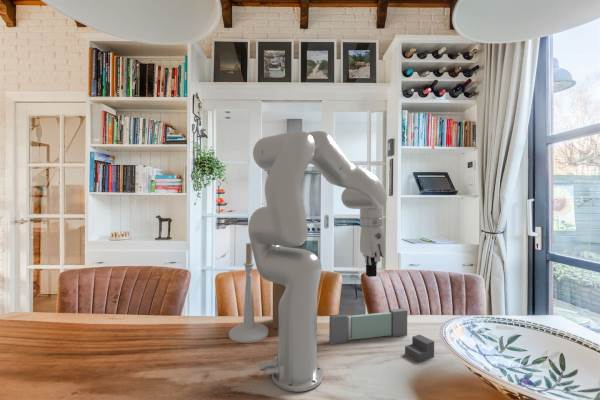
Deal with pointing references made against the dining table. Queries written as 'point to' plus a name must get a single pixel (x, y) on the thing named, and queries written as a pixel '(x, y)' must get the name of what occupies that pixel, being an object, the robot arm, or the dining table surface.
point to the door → (368, 325)
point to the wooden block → (277, 302)
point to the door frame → (340, 325)
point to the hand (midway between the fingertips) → (371, 275)
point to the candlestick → (248, 310)
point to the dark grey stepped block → (420, 348)
